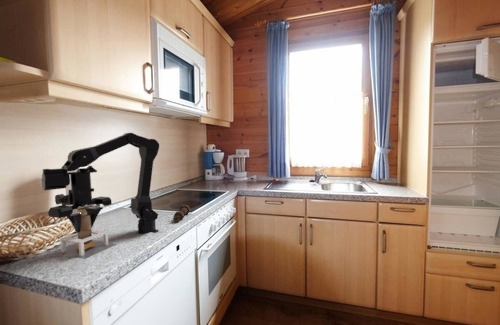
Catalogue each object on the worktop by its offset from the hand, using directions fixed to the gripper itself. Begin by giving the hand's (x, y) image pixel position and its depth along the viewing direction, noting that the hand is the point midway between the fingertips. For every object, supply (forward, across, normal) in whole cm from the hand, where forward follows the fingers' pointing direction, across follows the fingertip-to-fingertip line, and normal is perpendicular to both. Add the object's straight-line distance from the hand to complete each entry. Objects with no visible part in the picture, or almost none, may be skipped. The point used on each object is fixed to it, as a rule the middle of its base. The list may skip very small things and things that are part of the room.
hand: (84, 230), depth 87 cm
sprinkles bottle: (+8, -13, -18) cm, 23 cm away
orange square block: (+6, 0, 0) cm, 6 cm away
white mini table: (+7, 0, 0) cm, 7 cm away
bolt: (+8, -43, +8) cm, 45 cm away
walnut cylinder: (+4, 0, 0) cm, 4 cm away
